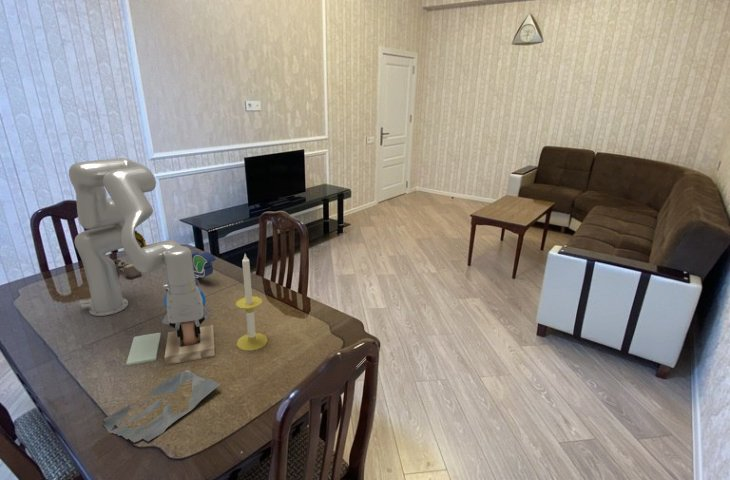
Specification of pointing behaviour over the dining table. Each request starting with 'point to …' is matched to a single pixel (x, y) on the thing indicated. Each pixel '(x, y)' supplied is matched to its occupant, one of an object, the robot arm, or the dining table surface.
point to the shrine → (140, 239)
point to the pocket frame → (190, 347)
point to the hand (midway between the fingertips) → (189, 336)
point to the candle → (249, 313)
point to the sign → (202, 264)
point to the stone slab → (200, 390)
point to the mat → (144, 349)
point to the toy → (127, 269)
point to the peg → (188, 333)
